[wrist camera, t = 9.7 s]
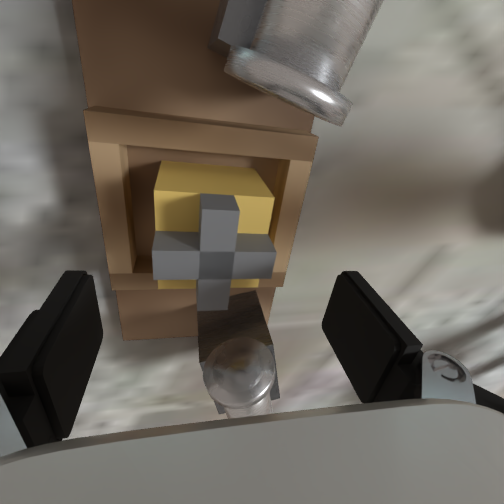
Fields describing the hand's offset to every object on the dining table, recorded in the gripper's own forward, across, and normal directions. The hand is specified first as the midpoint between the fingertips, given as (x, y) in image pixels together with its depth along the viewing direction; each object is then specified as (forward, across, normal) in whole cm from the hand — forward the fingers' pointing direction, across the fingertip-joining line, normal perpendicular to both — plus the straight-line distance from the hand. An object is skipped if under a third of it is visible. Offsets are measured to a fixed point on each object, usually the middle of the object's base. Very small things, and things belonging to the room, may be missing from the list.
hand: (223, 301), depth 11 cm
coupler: (+7, 0, -1) cm, 7 cm away
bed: (+8, 0, -1) cm, 8 cm away
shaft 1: (+9, -2, +8) cm, 12 cm away
